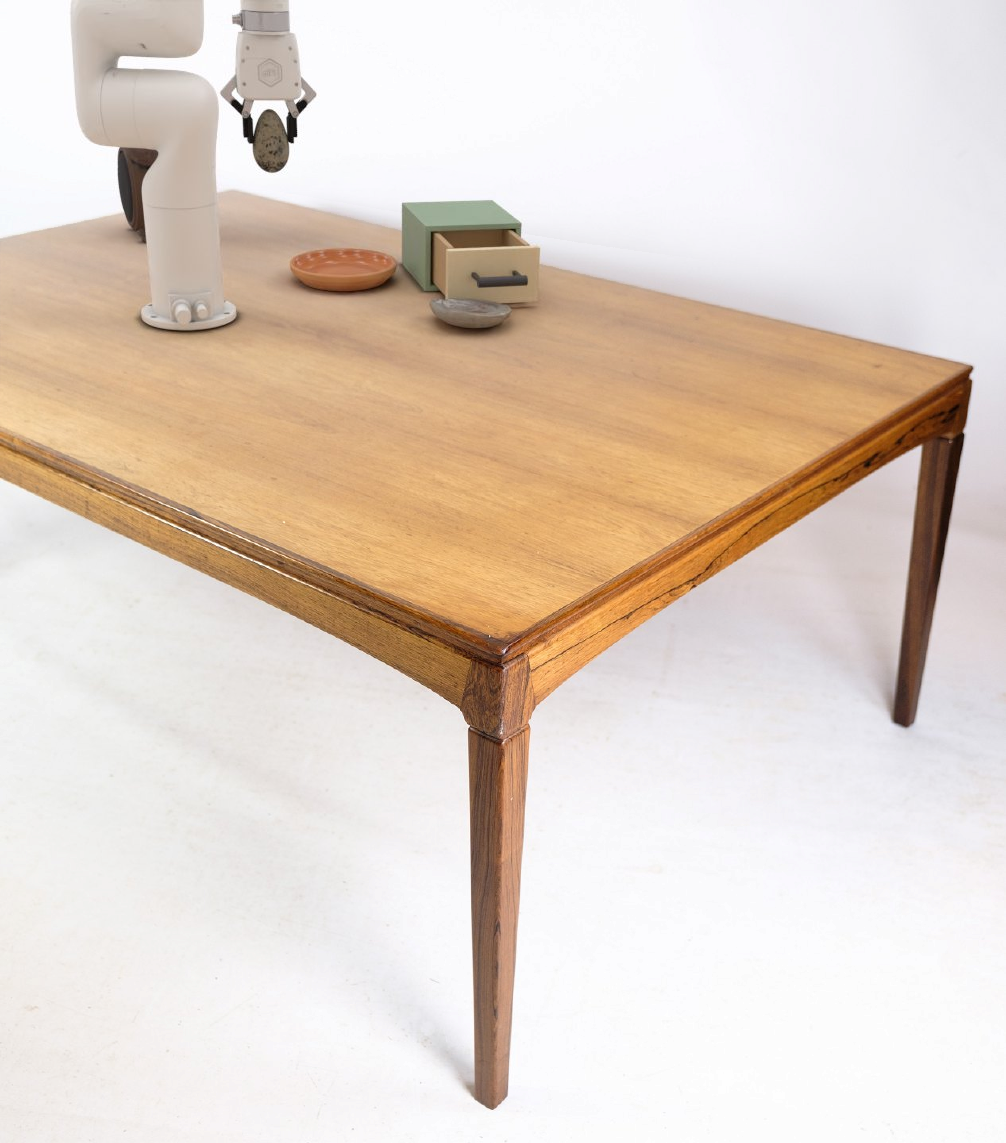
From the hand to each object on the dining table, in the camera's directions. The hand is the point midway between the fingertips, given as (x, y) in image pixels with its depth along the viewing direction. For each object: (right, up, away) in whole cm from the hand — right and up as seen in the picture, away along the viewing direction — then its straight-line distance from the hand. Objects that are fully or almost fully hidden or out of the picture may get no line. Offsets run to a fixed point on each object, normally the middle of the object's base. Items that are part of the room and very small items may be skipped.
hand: (270, 141), depth 212 cm
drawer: (+35, -30, -24) cm, 52 cm away
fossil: (+33, -37, -34) cm, 60 cm away
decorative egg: (0, -5, +2) cm, 5 cm away
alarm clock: (-21, -15, +3) cm, 26 cm away
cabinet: (+31, -25, -12) cm, 42 cm away
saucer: (+14, -27, -17) cm, 35 cm away
